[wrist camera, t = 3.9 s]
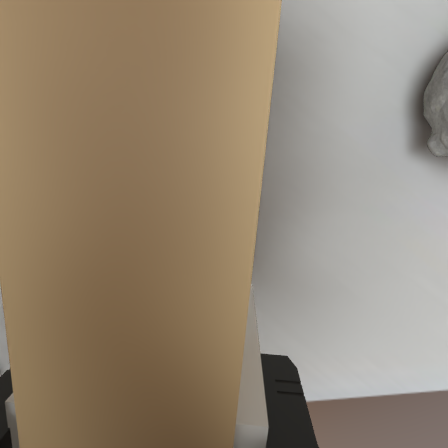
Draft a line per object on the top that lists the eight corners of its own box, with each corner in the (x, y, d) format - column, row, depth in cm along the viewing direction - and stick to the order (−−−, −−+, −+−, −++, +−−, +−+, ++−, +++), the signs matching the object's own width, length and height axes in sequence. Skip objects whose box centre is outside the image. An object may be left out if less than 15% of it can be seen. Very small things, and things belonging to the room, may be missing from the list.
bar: (108, 472, 11) (42, 644, 7) (91, -295, 6) (-155, -1033, 2) (218, 483, 11) (209, 662, 7) (293, -283, 6) (393, -1025, 2)
